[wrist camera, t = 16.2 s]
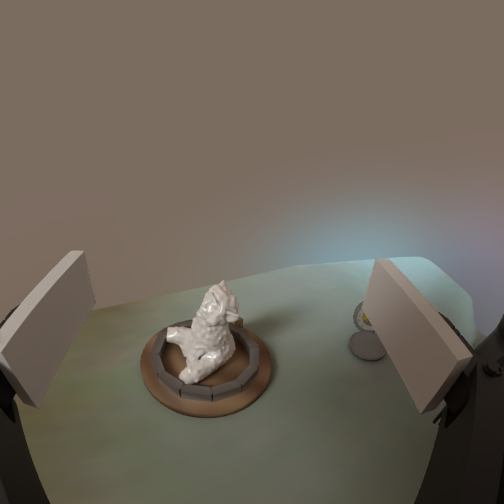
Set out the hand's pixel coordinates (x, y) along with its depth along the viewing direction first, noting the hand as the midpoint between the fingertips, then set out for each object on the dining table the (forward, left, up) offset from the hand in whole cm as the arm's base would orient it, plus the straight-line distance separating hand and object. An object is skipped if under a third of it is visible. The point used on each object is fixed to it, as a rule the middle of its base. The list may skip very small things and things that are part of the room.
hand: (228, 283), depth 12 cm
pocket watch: (-30, +7, -24) cm, 39 cm away
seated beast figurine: (-12, -12, -22) cm, 28 cm away
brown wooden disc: (-12, -12, -24) cm, 29 cm away
